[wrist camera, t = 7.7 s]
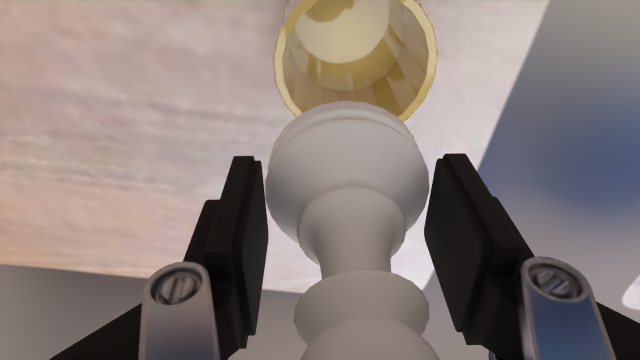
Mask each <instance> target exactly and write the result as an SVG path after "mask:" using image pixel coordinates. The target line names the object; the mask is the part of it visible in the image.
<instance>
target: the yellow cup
mask: <svg viewBox="0 0 640 360" xmlns="http://www.w3.org/2000/svg"><path fill="white" fill-rule="evenodd" d="M437 52H438V50H437V45H436V39H435V34H434V29H433V26H432V24H431V22H430V21H429V19H428V17H427V15H426V14H425V12H424V10H423V9H422V7H421V5H420V4H419V3H418V2H417V1H416V0H289V2H288V4H287V6H286V9H285V12H284V16H283V20H282V23H281V27H280V31H279V34H278V39H277V43H276V48H275V52H274V56H273V57H274V58H273V61H274V72H275V82H276V85H277V87H278V90H279V92H280V94H281V97H282V99H283V101H284V104H285V105H286V106H287V108H288V109H289V110H290V111H291V112H292V113H293V114H294V116H295V117H296V118H297V117H298V116H299V115H300V114H302V113H304V112H306V111H308V110H310V109H313V108H315V107H317V106H319V105H322V104H328V103H333V102H338V101H354V102H365V103H368V104H371V105H374V106H377V107H380V108H383V109H385V110H386V111H388V112H389V113H391V114H393V115H394V116H396V117H397V118H399V119H400V120H401V121H402V122H404V121H405V120H407V119H408V118H409V117H410V116H411V115H412V114H413V112H414V111H415V110H416V109H417V108H418V107H419V106H420V104H421V103H422V102H423V100H424V99H425V97H426V95H427V93H428V91H429V88H430V86H431V84H432V82H433V80H434V77H435V70H436V63H437V56H438V53H437Z"/></svg>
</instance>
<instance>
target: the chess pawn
mask: <svg viewBox="0 0 640 360" xmlns="http://www.w3.org/2000/svg"><path fill="white" fill-rule="evenodd" d="M428 193H429V174H428V169H427V166H426V164H425V162H424V159H423V157H422V154H421V152H420V151H419V148H418V146H417V143H416V141H415V139H414V137H413V134H412V133H411V132H410V131H409V129H408V128H407V127H406V126H405V125H404V123H403V122H402V121H401V120H400V119H399V118H397V117H396V116H394V115H393V114H391V113H389V112H388V111H386V110H385V109H383V108H380V107H377V106H374V105H371V104H368V103H365V102H354V101H338V102H333V103H328V104H322V105H319V106H317V107H315V108H313V109H310V110H308V111H306V112H304V113H302V114H300V115H299V116H298V117H297V118H295V119H294V120H293V121H292V122H291V123H289V124H288V125H287V126H286V127H285V128H284V130H283V131H282V133H281V134H280V136H279V137H278V138H277V140H276V141H275V143H274V146H273V149H272V153H271V156H270V159H269V164H268V173H267V177H266V180H265V199H266V202H267V205H268V208H269V211H270V214H271V216H272V218H273V219H274V221H275V222H276V223H277V225H278V226H279V227H280V229H281V230H282V231H283V232H284V233H285V234H287V235H288V236H289V237H290V238H291V239H293V240H294V241H295V242H297V243H299V244H300V247H301V248H302V250H303V251H304V253H305V254H306V255H307V257H309V258H310V259H311V260H312V261H314V262H315V263H316V264H318V265H320V268H321V274H322V280H321V281H320V282H318V283H316V284H315V285H313V286H311V287H310V288H309V289H308V290H307V291H306V292H305V293H304V294H303V296H301V298H300V299H299V302H298V304H297V306H296V308H295V318H294V322H295V325H296V328H297V331H298V333H299V335H300V337H301V338H302V339H303V340H304V341H305V343H306V344H307V345H308V347H307V349H306V351H305V352H304V354H303V356H302V358H301V360H440V359H439V358H438V356H437V354H436V352H435V351H434V349H433V348H432V347H431V346H430V344H429V343H428V342H427V341H426V340H425V339H424V338H423V337H421V335H422V333H423V332H424V330H425V327H426V324H427V321H428V319H429V304H428V301H427V299H426V297H425V295H424V294H423V291H422V290H420V289H419V288H418V287H417V286H416V285H415V284H414V283H413V282H412V281H410V280H407V279H405V278H403V277H401V276H399V275H397V274H393V273H391V264H390V260H391V257H392V256H393V255H394V254H395V253H396V252H397V251H398V250H399V248H400V246H401V245H402V243H403V241H404V238H405V234H406V231H408V230H409V229H410V228H411V227H412V226H413V225H414V224H415V222H416V221H417V219H418V218H419V216H420V214H421V213H422V211H423V209H424V208H425V204H426V200H427V197H428Z"/></svg>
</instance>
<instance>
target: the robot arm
mask: <svg viewBox="0 0 640 360" xmlns="http://www.w3.org/2000/svg"><path fill="white" fill-rule="evenodd" d="M424 237H425V241H426V244H427V247H428V250H429V253H430V256H431V259H432V262H433V265H434V268H435V271H436V274H437V277H438V280H439V283H440V286H441V289H442V291H443V294H444V297H445V300H446V303H447V306H448V309H449V312H450V315H451V318H452V321H453V324H454V327H455V329H456V331H457V332H462V333H463V336H464V338H465V341H466V344H467V345H482V346H483V347H485V348H486V349H488V350H489V360H640V323H638V322H636V321H634V320H632V319H630V318H628V317H626V316H624V315H622V314H620V313H618V312H616V311H614V310H612V309H610V308H608V307H606V306H604V305H602V304H600V303H598V302H596V300H595V297H594V295H593V292H592V289H591V286H590V284H589V283H588V281H587V279H586V278H585V277H584V276H583V275H582V274H581V273H580V272H579V271H578V270H577V269H575V268H574V267H572V266H571V265H569V264H567V263H565V262H563V261H560V260H557V259H554V258H550V257H535V256H534V255H533V253H532V251H531V250H530V248H529V247H528V245H527V244H526V242H525V241H524V239H523V237H522V236H521V234H520V233H519V231H518V229H517V228H516V226H515V225H514V223H513V222H512V220H511V218H510V217H509V215H508V214H507V212H506V211H505V209H504V208H503V206H502V205H501V203H500V201H499V200H498V199H497V198H496V197H494V196H492V195H491V194H490V192H489V190H488V189H487V187H486V186H485V184H484V183H483V181H482V179H481V178H480V176H479V174H478V173H477V171H476V170H475V168H474V166H473V165H472V163H471V162H470V160H469V158H468V157H467V155H466V154H445V155H444V156H443V159H438V160H437V162H436V167H435V172H434V178H433V183H432V189H431V194H430V200H429V205H428V210H427V216H426V221H425V227H424ZM267 246H268V224H267V214H266V204H265V194H264V184H263V175H262V165H261V161H255V160H254V157H253V156H234V158H233V161H232V164H231V167H230V170H229V173H228V176H227V179H226V182H225V186H224V189H223V192H222V195H221V198H220V200H207V201H206V202H205V204H204V206H203V209H202V211H201V214H200V217H199V219H198V222H197V225H196V227H195V230H194V233H193V236H192V238H191V241H190V244H189V246H188V249H187V252H186V255H185V257H184V260H183V262H176V263H173V264H170V265H167V266H165V267H163V268H161V269H160V270H158V271H157V272H155V273H154V274H153V275H152V276H151V277H150V278H149V279H148V281H147V282H146V284H145V286H144V290H143V298H142V303H141V304H139V305H138V306H136V307H134V308H132V309H131V310H129V311H128V312H126V313H124V314H123V315H121V316H119V317H118V318H116V319H114V320H113V321H111V322H110V323H108V324H106V325H105V326H103V327H101V328H100V329H98V330H97V331H95V332H93V333H92V334H90V335H88V336H87V337H85V338H83V339H82V340H80V341H78V342H77V343H75V344H73V345H72V346H71V347H68V348H67V349H65V350H64V351H62V352H60V353H59V354H57V355H55V356H54V357H52V358H51V359H50V360H228V358H229V357H230V356H231V355H232V354H234V353H235V352H236V351H237V350H239V349H242V348H244V349H245V348H246V346H247V340H248V336H249V335H255V333H256V327H257V319H258V312H259V305H260V297H261V290H262V283H263V275H264V268H265V260H266V253H267Z"/></svg>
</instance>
